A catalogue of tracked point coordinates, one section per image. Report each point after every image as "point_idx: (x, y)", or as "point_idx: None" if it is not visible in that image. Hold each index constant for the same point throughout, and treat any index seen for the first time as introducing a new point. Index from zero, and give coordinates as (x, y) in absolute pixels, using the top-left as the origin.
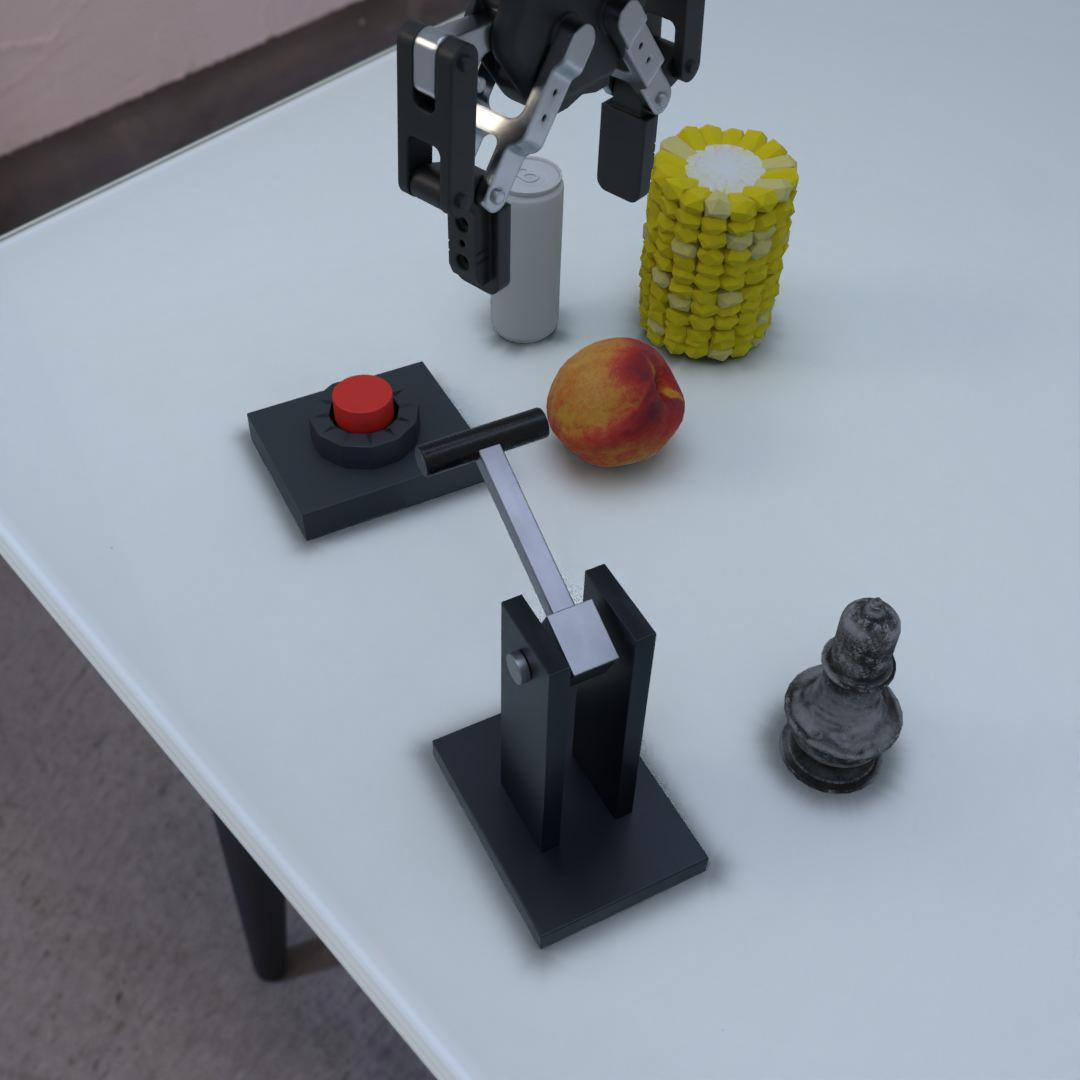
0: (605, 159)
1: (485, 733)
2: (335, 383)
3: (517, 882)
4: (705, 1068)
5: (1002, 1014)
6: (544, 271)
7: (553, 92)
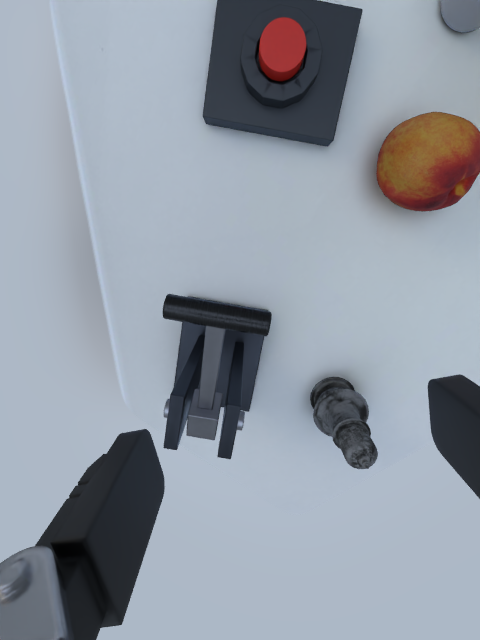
0: (458, 413)
1: None
2: (281, 6)
3: (177, 376)
4: (197, 455)
5: (293, 498)
6: None
7: None
